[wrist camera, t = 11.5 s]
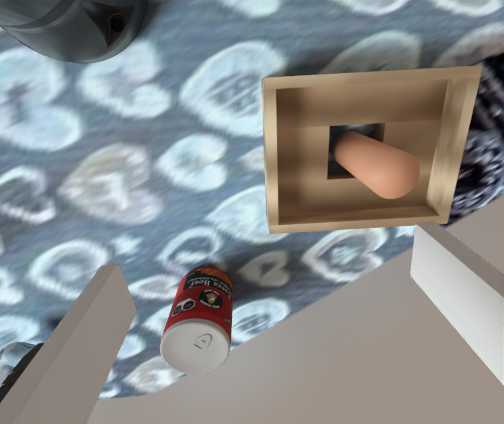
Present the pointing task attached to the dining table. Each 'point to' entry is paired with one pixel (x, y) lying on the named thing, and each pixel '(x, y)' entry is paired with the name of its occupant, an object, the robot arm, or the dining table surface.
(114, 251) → the dining table surface
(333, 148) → the peg
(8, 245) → the dining table surface
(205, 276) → the canned food
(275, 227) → the box
